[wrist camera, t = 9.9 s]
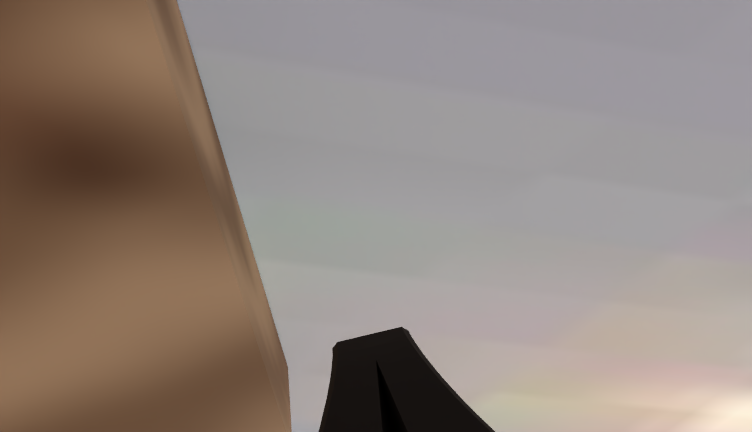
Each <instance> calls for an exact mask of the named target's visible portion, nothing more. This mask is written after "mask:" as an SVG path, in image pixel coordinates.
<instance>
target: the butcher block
mask: <svg viewBox="0 0 752 432" xmlns="http://www.w3.org/2000/svg"><path fill="white" fill-rule="evenodd" d="M0 432H291V415H290V397H289V380H288V367H287V363H286V360H285V357H284V353H283V350H282V347H281V343H280V340H279V337H278V334H277V330H276V327H275V324H274V320H273V317H272V314H271V310H270V307H269V304H268V301H267V297H266V294H265V291H264V287H263V284H262V281H261V277H260V274H259V271H258V268H257V264H256V261H255V258H254V254H253V251H252V248H251V244H250V241H249V238H248V235H247V231H246V228H245V225H244V221H243V218H242V215H241V211H240V208H239V205H238V202H237V198H236V195H235V192H234V188H233V185H232V182H231V178H230V175H229V172H228V169H227V165H226V162H225V159H224V155H223V152H222V149H221V145H220V142H219V139H218V136H217V132H216V129H215V126H214V122H213V119H212V116H211V112H210V109H209V106H208V103H207V99H206V96H205V93H204V89H203V86H202V83H201V79H200V76H199V73H198V70H197V66H196V63H195V60H194V56H193V53H192V50H191V46H190V43H189V40H188V37H187V33H186V30H185V27H184V23H183V20H182V17H181V13H180V10H179V7H178V4H177V0H0Z"/></svg>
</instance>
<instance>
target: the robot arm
mask: <svg viewBox="0 0 752 432" xmlns="http://www.w3.org/2000/svg"><path fill="white" fill-rule="evenodd" d="M319 432H495V431H494V430H493V429H492V428H491V427H490V426H489V425H488V424H486V423H485V422H484V421H483V420H482V419H481V418H480V417H479V416H478V415H477V414H476V413H475V412H474V411H473V410H472V409H471V408H470V407H469V406H468V405H467V404H466V403H465V402H464V401H463V400H462V399H461V398H460V397H459V395H458V394H457V393H456V392H455V391H454V390H453V389H452V388H451V387H450V386H449V385H448V383H447V382H446V381H445V380H444V379H443V378H442V377H441V376H440V374H439V373H438V372H437V371H436V370H435V368H434V367H433V366H432V365H431V363H430V362H429V361H428V360H427V358H426V357H425V356H424V354H423V353H422V352H421V350H420V349H419V347H418V346H417V345H416V343H415V341H414V340H413V338H412V337H411V335H410V333H409V331H408V330H406V329H404V328H403V327H399V328H395V329H391V330H386V331H382V332H378V333H374V334H370V335H365V336H361V337H357V338H353V339H349V340H344V341H340V342H337V343H336V345H335V346H334V347H333V360H332V371H331V378H330V384H329V389H328V395H327V400H326V404H325V408H324V412H323V416H322V421H321V425H320V429H319Z"/></svg>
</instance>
